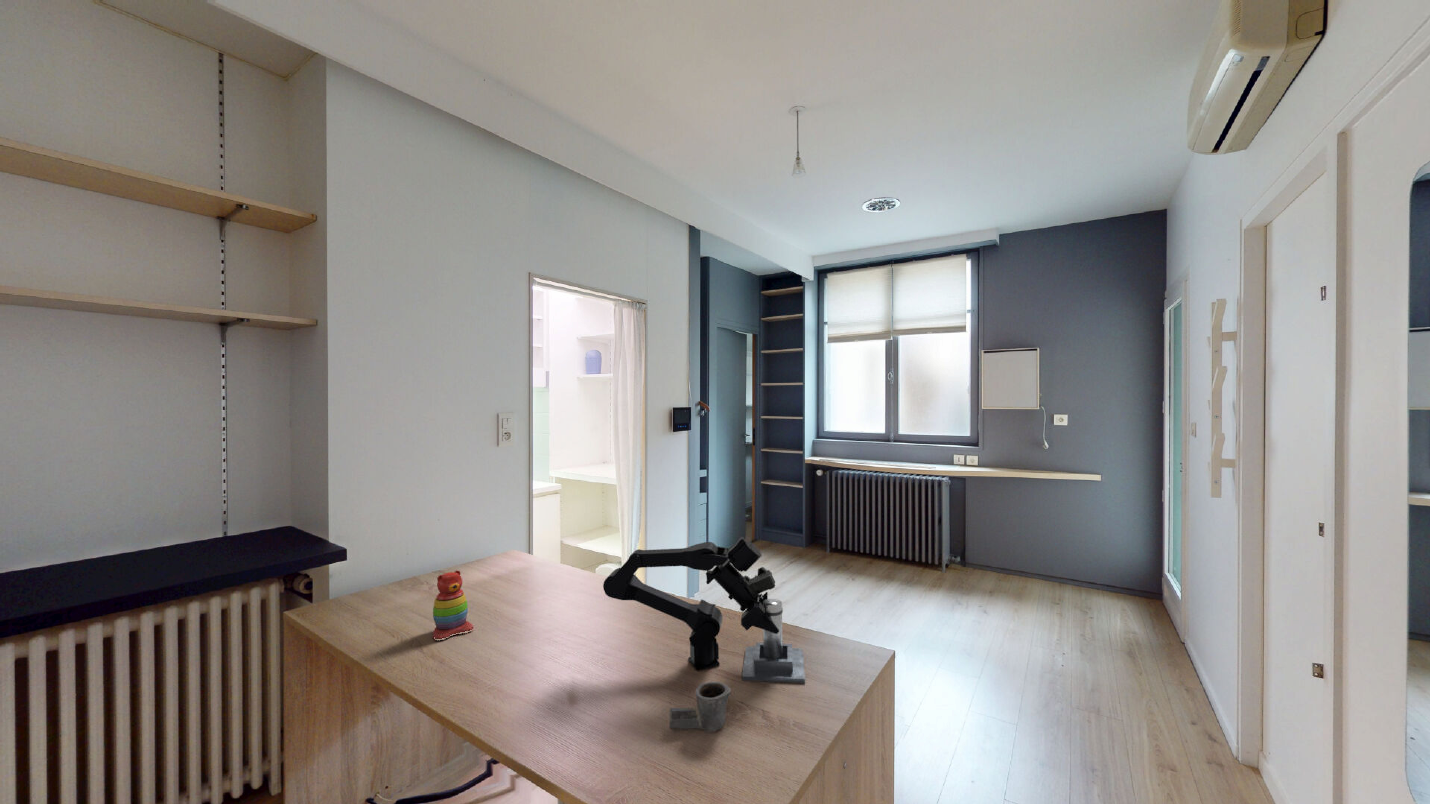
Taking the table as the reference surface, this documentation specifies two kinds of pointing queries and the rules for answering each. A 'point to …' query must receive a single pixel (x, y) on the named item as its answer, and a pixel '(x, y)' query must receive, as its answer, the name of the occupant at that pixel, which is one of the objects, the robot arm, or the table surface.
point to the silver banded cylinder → (771, 640)
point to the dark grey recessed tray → (774, 665)
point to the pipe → (703, 709)
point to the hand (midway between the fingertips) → (778, 628)
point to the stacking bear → (450, 606)
